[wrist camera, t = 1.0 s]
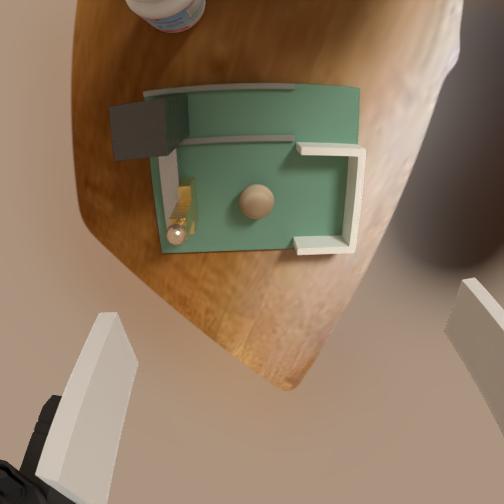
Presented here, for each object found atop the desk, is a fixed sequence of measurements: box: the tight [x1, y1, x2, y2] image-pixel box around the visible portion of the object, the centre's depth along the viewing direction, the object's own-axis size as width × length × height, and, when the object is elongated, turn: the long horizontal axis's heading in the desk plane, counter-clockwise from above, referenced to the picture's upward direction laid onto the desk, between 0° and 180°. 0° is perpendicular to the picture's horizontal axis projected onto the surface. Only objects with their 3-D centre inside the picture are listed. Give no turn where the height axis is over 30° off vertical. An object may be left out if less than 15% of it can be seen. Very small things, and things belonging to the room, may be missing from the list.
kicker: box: [109, 96, 198, 245], centre depth 27 cm, size 14×4×11 cm, turn 1°
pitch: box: [143, 83, 360, 253], centre depth 33 cm, size 18×22×1 cm
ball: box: [239, 184, 274, 219], centre depth 33 cm, size 4×4×4 cm
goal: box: [293, 142, 366, 255], centre depth 34 cm, size 12×7×4 cm, turn 1°
